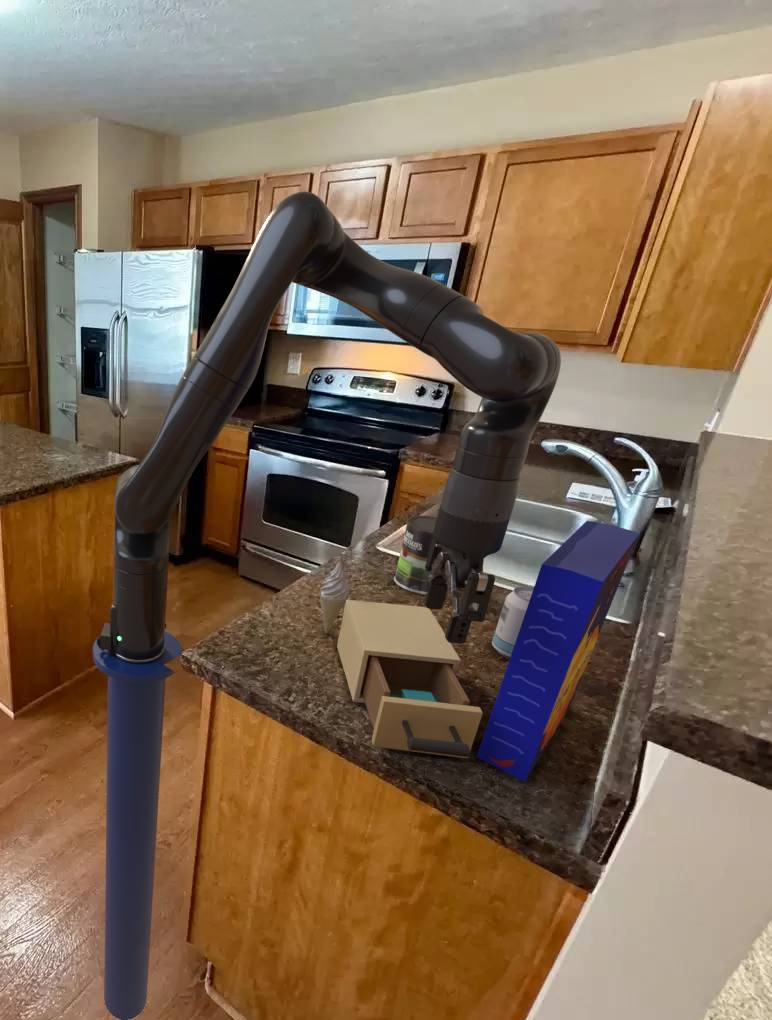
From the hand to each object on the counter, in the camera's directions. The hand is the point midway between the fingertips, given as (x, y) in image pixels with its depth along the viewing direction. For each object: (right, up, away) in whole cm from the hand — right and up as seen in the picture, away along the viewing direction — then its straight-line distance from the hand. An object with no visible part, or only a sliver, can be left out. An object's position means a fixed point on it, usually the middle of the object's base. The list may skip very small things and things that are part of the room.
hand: (443, 623), depth 78 cm
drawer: (0, -16, +8) cm, 18 cm away
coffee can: (+22, +1, +52) cm, 57 cm away
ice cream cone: (-4, -6, +33) cm, 34 cm away
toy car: (0, -15, +8) cm, 17 cm away
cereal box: (+17, -17, +9) cm, 26 cm away
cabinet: (+2, -12, +21) cm, 24 cm away
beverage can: (+27, -9, +28) cm, 40 cm away
